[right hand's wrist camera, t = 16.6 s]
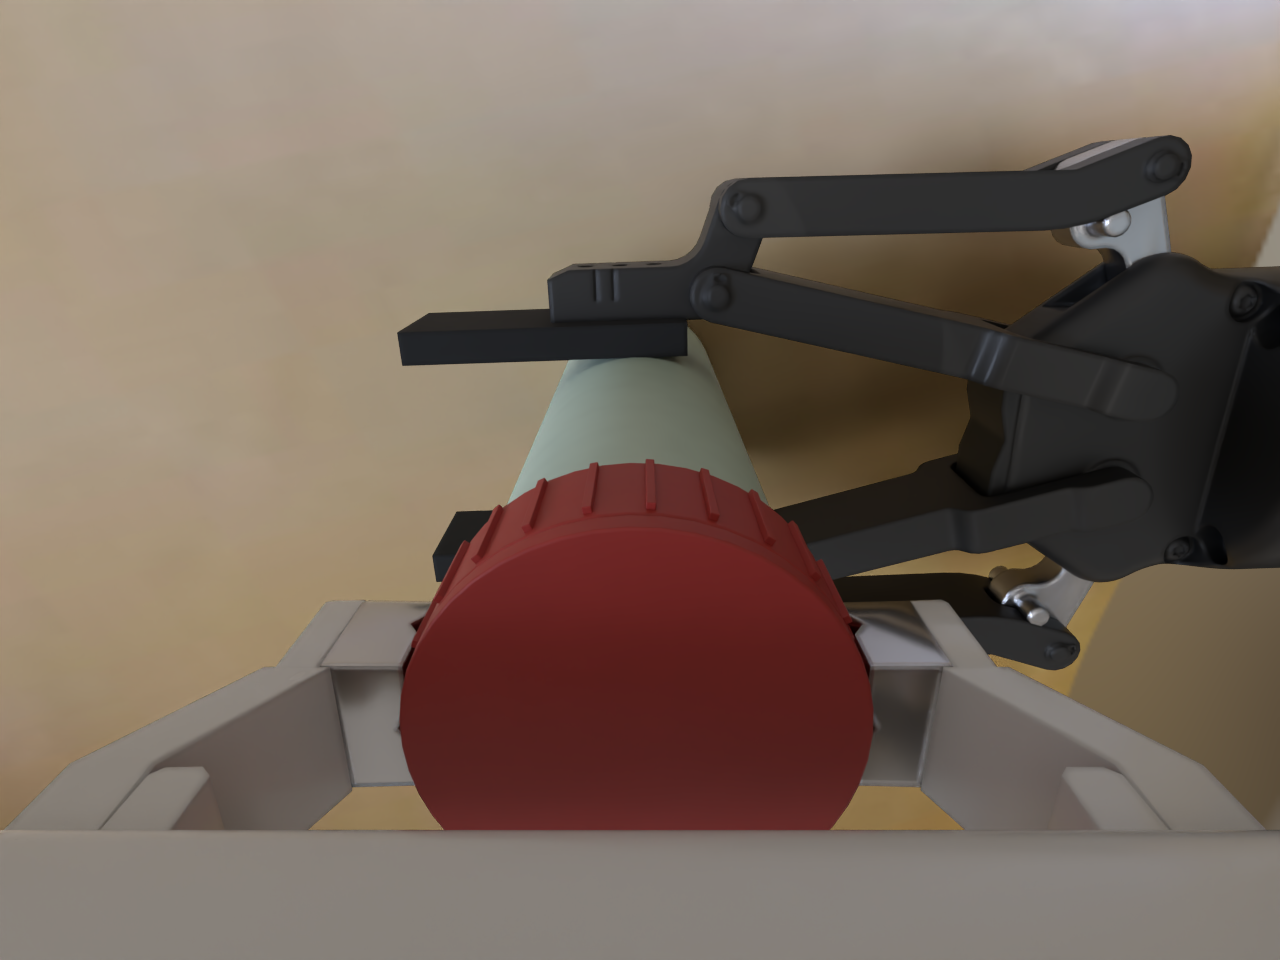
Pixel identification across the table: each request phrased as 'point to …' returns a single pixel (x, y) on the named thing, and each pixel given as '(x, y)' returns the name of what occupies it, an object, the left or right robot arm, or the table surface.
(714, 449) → the jar
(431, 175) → the table surface
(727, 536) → the lid
